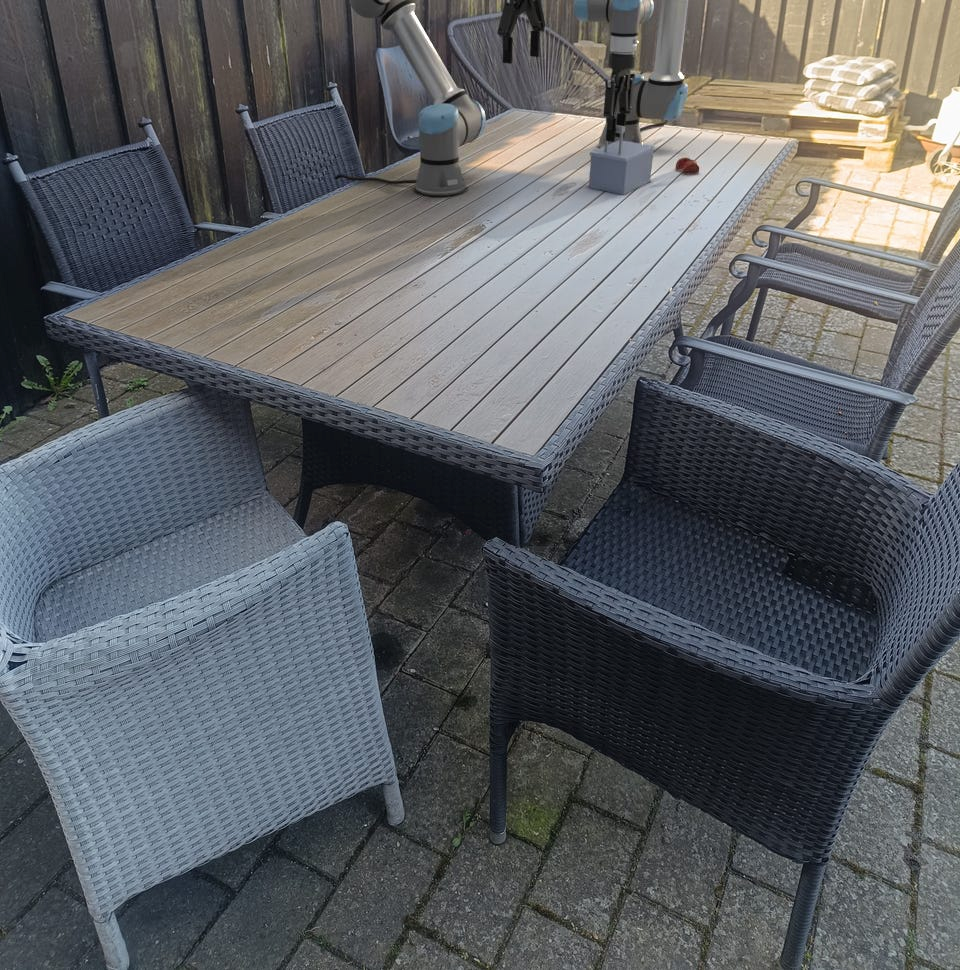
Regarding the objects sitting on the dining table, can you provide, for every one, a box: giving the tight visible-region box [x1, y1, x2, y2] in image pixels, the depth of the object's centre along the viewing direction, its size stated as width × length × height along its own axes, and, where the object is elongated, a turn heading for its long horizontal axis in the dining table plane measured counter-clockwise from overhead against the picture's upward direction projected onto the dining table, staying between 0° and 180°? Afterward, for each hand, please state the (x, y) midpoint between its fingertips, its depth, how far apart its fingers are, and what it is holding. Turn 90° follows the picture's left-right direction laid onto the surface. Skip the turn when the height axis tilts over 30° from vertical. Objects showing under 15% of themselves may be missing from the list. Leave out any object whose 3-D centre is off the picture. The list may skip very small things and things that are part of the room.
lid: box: [589, 123, 655, 161], centre depth 254 cm, size 18×12×9 cm
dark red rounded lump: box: [675, 156, 700, 175], centre depth 273 cm, size 6×4×8 cm
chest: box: [588, 148, 655, 195], centre depth 260 cm, size 17×12×10 cm
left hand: (521, 59), depth 240 cm, fingers open, 13 cm apart
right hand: (615, 138), depth 251 cm, fingers open, 5 cm apart
